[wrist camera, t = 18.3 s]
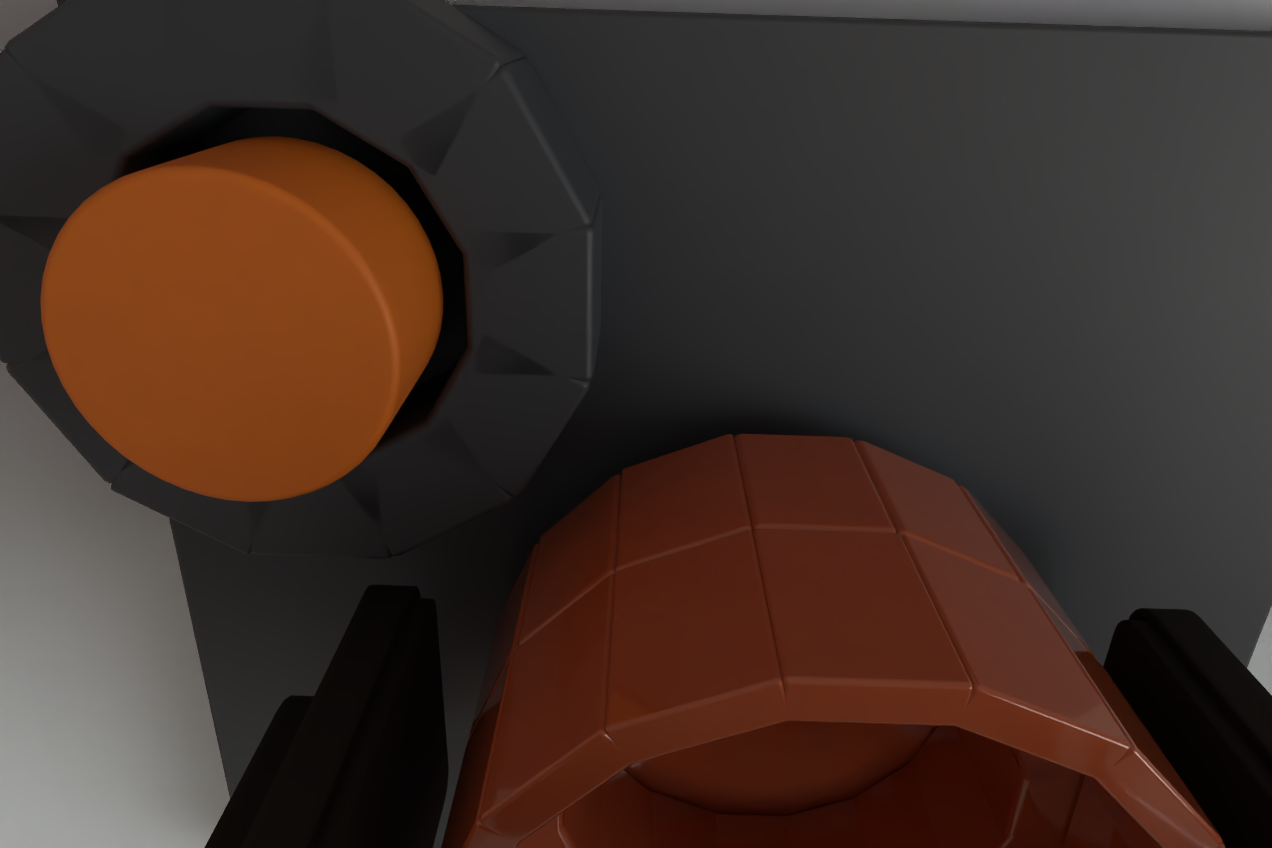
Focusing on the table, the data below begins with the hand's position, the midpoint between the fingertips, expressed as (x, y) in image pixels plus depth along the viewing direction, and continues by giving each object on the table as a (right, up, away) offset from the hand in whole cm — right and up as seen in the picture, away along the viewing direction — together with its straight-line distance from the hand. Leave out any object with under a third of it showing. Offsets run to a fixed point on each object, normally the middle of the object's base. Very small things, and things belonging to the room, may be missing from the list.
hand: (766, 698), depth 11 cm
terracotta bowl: (0, 0, +1) cm, 1 cm away
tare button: (-5, +5, -2) cm, 7 cm away
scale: (0, +2, +3) cm, 3 cm away
